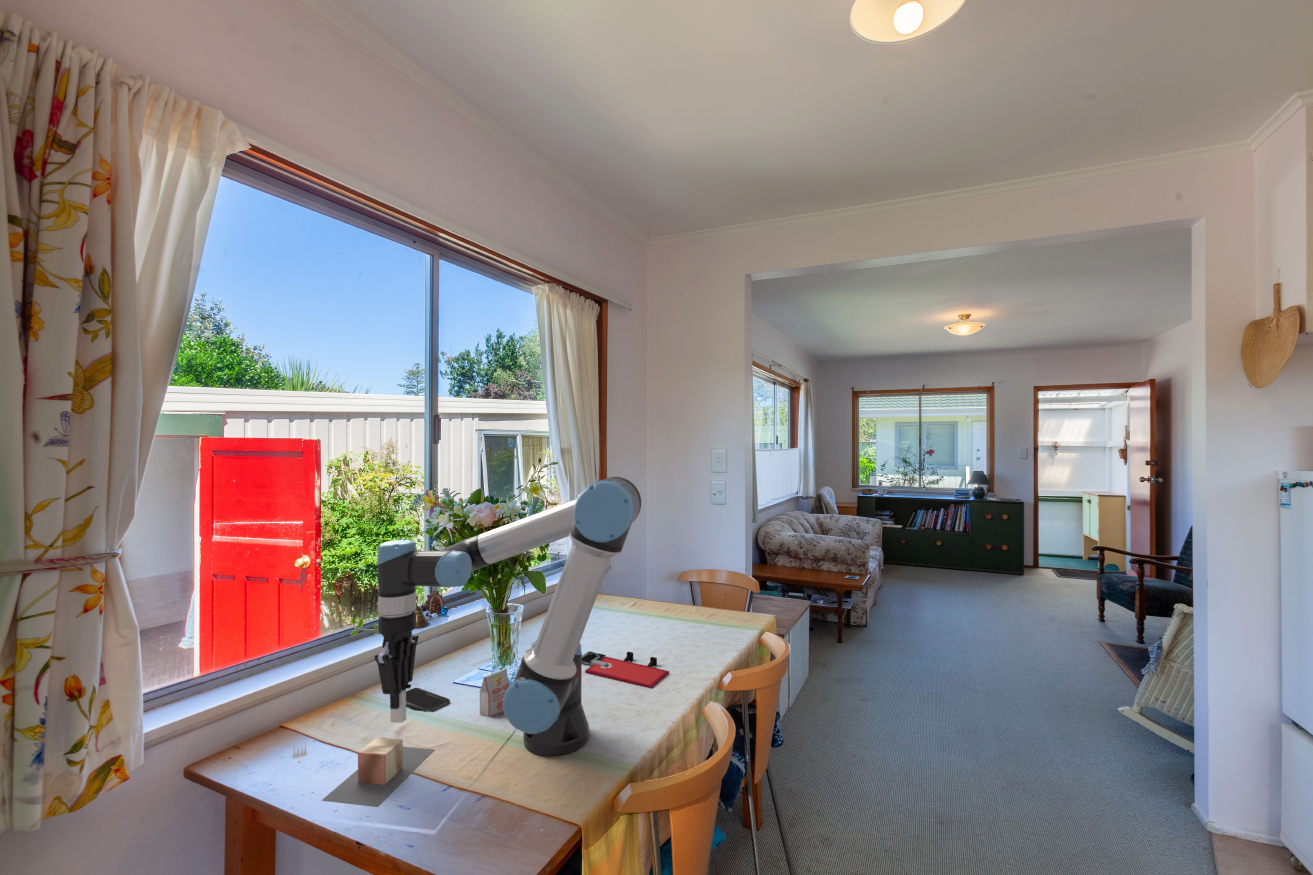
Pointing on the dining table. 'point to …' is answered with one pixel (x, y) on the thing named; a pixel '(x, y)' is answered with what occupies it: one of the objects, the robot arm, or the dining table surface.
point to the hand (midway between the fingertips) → (398, 720)
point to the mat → (377, 793)
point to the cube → (380, 760)
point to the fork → (301, 753)
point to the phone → (424, 700)
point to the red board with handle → (624, 669)
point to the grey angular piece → (493, 693)
